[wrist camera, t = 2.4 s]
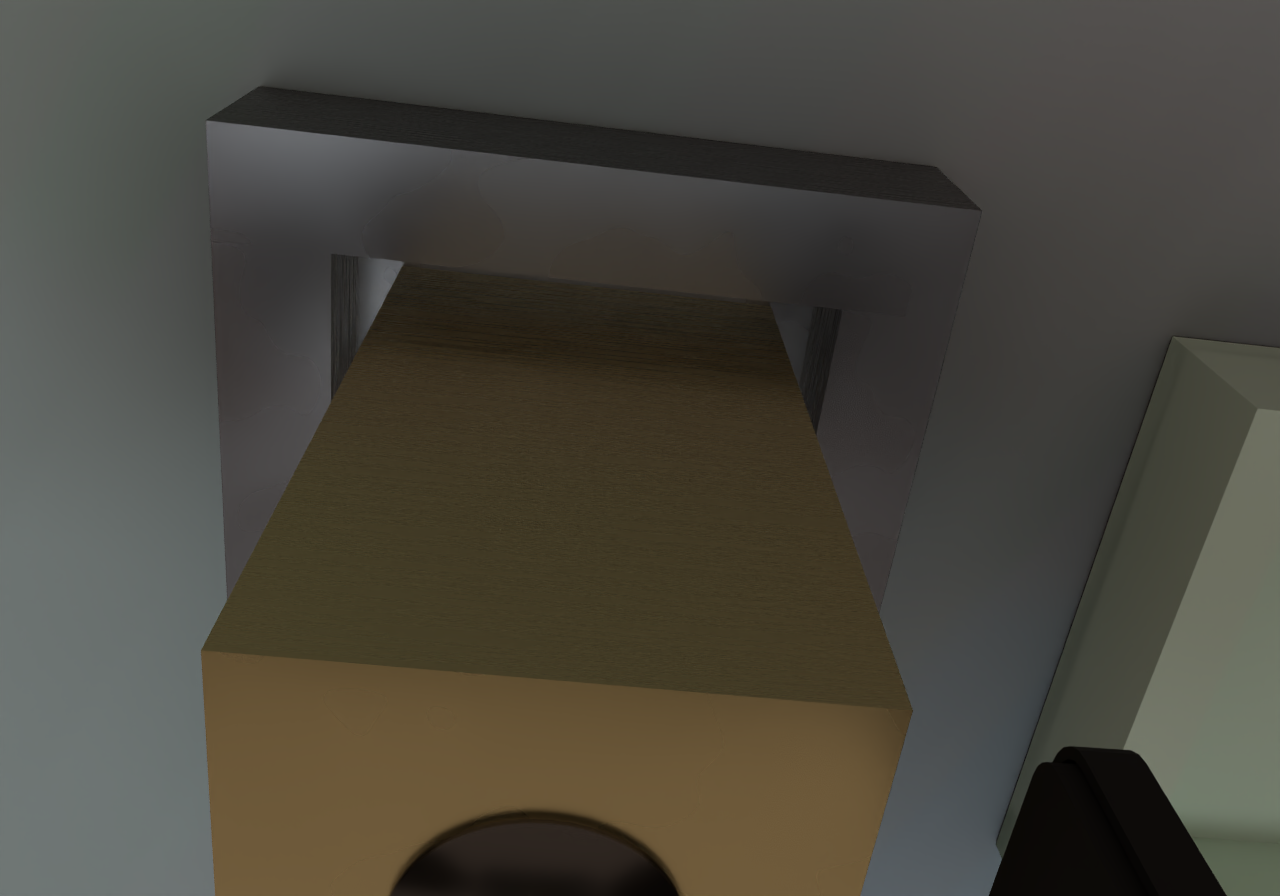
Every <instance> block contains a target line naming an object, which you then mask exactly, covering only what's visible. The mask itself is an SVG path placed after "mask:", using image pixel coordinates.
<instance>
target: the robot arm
mask: <svg viewBox="0 0 1280 896" xmlns="http://www.w3.org/2000/svg"><path fill="white" fill-rule="evenodd" d="M989 896H1227V895H1226V894H1225V892H1224V890H1223V889H1222V887H1221V885H1220V884H1219V882H1218V880H1217V879H1216V877H1215V875H1214V874H1213V872H1212V870H1211V869H1210V867H1209V866H1208V864H1207V862H1206V861H1205V859H1204V857H1203V856H1202V854H1201V852H1200V851H1199V849H1198V847H1197V846H1196V844H1195V842H1194V841H1193V839H1192V838H1191V836H1190V834H1189V833H1188V831H1187V829H1186V828H1185V826H1184V824H1183V823H1182V821H1181V819H1180V818H1179V816H1178V814H1177V813H1176V811H1175V809H1174V808H1173V806H1172V805H1171V803H1170V801H1169V800H1168V798H1167V796H1166V795H1165V793H1164V791H1163V790H1162V788H1161V786H1160V785H1159V783H1158V781H1157V780H1156V778H1155V777H1154V775H1153V773H1152V772H1151V770H1150V768H1149V767H1148V765H1147V763H1146V762H1145V761H1144V760H1143V759H1142V757H1141V756H1140V755H1139V754H1137V753H1135V752H1134V751H1132V750H1121V749H1106V748H1091V747H1076V746H1068V747H1063V748H1062V749H1061V750H1060V751H1059V752H1058V753H1057V754H1056V756H1055V758H1054V760H1053V762H1042V763H1041V764H1039V765H1038V766H1037V768H1036V770H1035V772H1034V773H1033V776H1032V779H1031V781H1030V784H1029V787H1028V790H1027V792H1026V795H1025V798H1024V801H1023V803H1022V806H1021V809H1020V812H1019V814H1018V817H1017V820H1016V823H1015V825H1014V828H1013V831H1012V834H1011V836H1010V839H1009V842H1008V845H1007V847H1006V850H1005V853H1004V856H1003V858H1002V861H1001V864H1000V867H999V869H998V872H997V875H996V877H995V880H994V883H993V886H992V888H991V891H990V894H989Z"/></svg>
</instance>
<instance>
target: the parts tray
mask: <svg viewBox="0 0 1280 896" xmlns="http://www.w3.org/2000/svg"><path fill="white" fill-rule="evenodd" d="M1068 746H1076V747H1091V748H1106V749H1121V750H1132V751H1134V752H1135V753H1137V754H1139V755H1140V756H1141V757H1142V759H1143V760H1144V761H1145V762H1146V763H1147V765H1148V767H1149V768H1150V770H1151V772H1152V773H1153V775H1154V777H1155V778H1156V780H1157V781H1158V783H1159V785H1160V786H1161V788H1162V790H1163V791H1164V793H1165V795H1166V796H1167V798H1168V800H1169V801H1170V803H1171V805H1172V806H1173V808H1174V809H1175V811H1176V813H1177V814H1178V816H1179V818H1180V819H1181V821H1182V823H1183V824H1184V826H1185V828H1186V829H1187V831H1188V833H1189V834H1190V836H1191V838H1192V839H1193V841H1194V842H1195V844H1196V846H1197V847H1198V849H1199V851H1200V852H1201V854H1202V856H1203V857H1204V859H1205V861H1206V862H1207V864H1208V866H1209V867H1210V869H1211V870H1212V872H1213V874H1214V875H1215V877H1216V879H1217V880H1218V882H1219V884H1220V885H1221V887H1222V889H1223V890H1224V892H1225V894H1226V895H1227V896H1280V348H1274V347H1265V346H1256V345H1247V344H1238V343H1229V342H1220V341H1211V340H1202V339H1192V338H1183V337H1174V336H1173V337H1172V340H1171V342H1170V345H1169V348H1168V351H1167V354H1166V357H1165V360H1164V363H1163V365H1162V368H1161V371H1160V374H1159V377H1158V380H1157V383H1156V386H1155V388H1154V391H1153V394H1152V397H1151V400H1150V403H1149V406H1148V409H1147V411H1146V414H1145V417H1144V420H1143V423H1142V426H1141V429H1140V432H1139V434H1138V437H1137V440H1136V443H1135V446H1134V449H1133V452H1132V455H1131V457H1130V460H1129V463H1128V466H1127V469H1126V472H1125V475H1124V478H1123V480H1122V483H1121V486H1120V489H1119V492H1118V495H1117V498H1116V501H1115V503H1114V506H1113V509H1112V512H1111V515H1110V518H1109V521H1108V524H1107V526H1106V529H1105V532H1104V535H1103V538H1102V541H1101V544H1100V547H1099V549H1098V552H1097V555H1096V558H1095V561H1094V564H1093V567H1092V569H1091V572H1090V575H1089V578H1088V581H1087V584H1086V587H1085V590H1084V592H1083V595H1082V598H1081V601H1080V604H1079V607H1078V610H1077V613H1076V615H1075V618H1074V621H1073V624H1072V627H1071V630H1070V633H1069V636H1068V638H1067V641H1066V644H1065V647H1064V650H1063V653H1062V656H1061V659H1060V661H1059V664H1058V667H1057V670H1056V673H1055V676H1054V679H1053V682H1052V684H1051V687H1050V690H1049V693H1048V696H1047V699H1046V702H1045V705H1044V707H1043V710H1042V713H1041V716H1040V719H1039V722H1038V725H1037V728H1036V730H1035V733H1034V736H1033V739H1032V742H1031V745H1030V748H1029V751H1028V753H1027V756H1026V759H1025V762H1024V765H1023V768H1022V771H1021V773H1020V776H1019V779H1018V782H1017V785H1016V788H1015V791H1014V794H1013V796H1012V799H1011V802H1010V805H1009V808H1008V811H1007V814H1006V817H1005V819H1004V822H1003V825H1002V828H1001V831H1000V834H999V837H998V840H997V842H996V845H997V848H998V850H999V853H1000V855H1001V858H1003V856H1004V853H1005V850H1006V847H1007V845H1008V842H1009V839H1010V836H1011V834H1012V831H1013V828H1014V825H1015V823H1016V820H1017V817H1018V814H1019V812H1020V809H1021V806H1022V803H1023V801H1024V798H1025V795H1026V792H1027V790H1028V787H1029V784H1030V781H1031V779H1032V776H1033V773H1034V772H1035V770H1036V768H1037V766H1038V765H1039V764H1041V763H1042V762H1053V760H1054V758H1055V756H1056V754H1057V753H1058V752H1059V751H1060V750H1061V749H1062V748H1063V747H1068Z"/></svg>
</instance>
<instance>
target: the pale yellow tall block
mask: <svg viewBox="0 0 1280 896" xmlns="http://www.w3.org/2000/svg"><path fill="white" fill-rule="evenodd" d="M201 658H202V675H203V692H204V710H205V727H206V744H207V761H208V778H209V795H210V813H211V830H212V847H213V864H214V881H215V896H860V894H861V891H862V887H863V884H864V880H865V877H866V873H867V870H868V866H869V863H870V859H871V856H872V852H873V849H874V845H875V842H876V838H877V835H878V831H879V828H880V824H881V821H882V817H883V814H884V810H885V807H886V803H887V800H888V796H889V793H890V789H891V785H892V782H893V778H894V775H895V771H896V768H897V764H898V761H899V757H900V754H901V750H902V747H903V743H904V740H905V736H906V733H907V729H908V726H909V722H910V719H911V715H912V712H913V710H912V707H911V704H910V701H909V698H908V695H907V693H906V690H905V687H904V684H903V681H902V678H901V675H900V673H899V670H898V667H897V664H896V661H895V658H894V656H893V653H892V650H891V647H890V644H889V641H888V639H887V636H886V633H885V630H884V627H883V624H882V621H881V619H880V616H879V613H878V610H877V607H876V604H875V602H874V599H873V596H872V593H871V590H870V587H869V584H868V582H867V579H866V576H865V573H864V570H863V567H862V565H861V562H860V559H859V556H858V553H857V550H856V548H855V545H854V542H853V539H852V536H851V533H850V530H849V528H848V525H847V522H846V519H845V516H844V513H843V511H842V508H841V505H840V502H839V499H838V496H837V494H836V491H835V488H834V485H833V482H832V479H831V476H830V474H829V471H828V468H827V465H826V462H825V459H824V457H823V454H822V451H821V448H820V445H819V442H818V439H817V437H816V434H815V431H814V428H813V425H812V422H811V420H810V417H809V414H808V411H807V408H806V405H805V403H804V400H803V397H802V394H801V391H800V388H799V385H798V383H797V380H796V377H795V374H794V371H793V368H792V366H791V363H790V360H789V357H788V354H787V351H786V349H785V346H784V343H783V340H782V337H781V334H780V331H779V329H778V326H777V323H776V320H775V317H774V314H773V312H772V309H771V306H766V305H757V304H748V303H739V302H729V301H720V300H711V299H702V298H693V297H684V296H674V295H665V294H656V293H647V292H638V291H629V290H619V289H610V288H601V287H592V286H583V285H574V284H564V283H555V282H546V281H537V280H528V279H519V278H509V277H500V276H491V275H482V274H473V273H464V272H454V271H445V270H436V269H427V268H418V267H409V266H402V268H401V270H400V271H399V273H398V275H397V277H396V279H395V281H394V283H393V285H392V287H391V289H390V291H389V292H388V294H387V296H386V298H385V300H384V302H383V304H382V306H381V308H380V310H379V312H378V313H377V315H376V317H375V319H374V321H373V323H372V325H371V327H370V329H369V331H368V333H367V334H366V336H365V338H364V340H363V342H362V344H361V346H360V348H359V350H358V352H357V354H356V355H355V357H354V359H353V361H352V363H351V365H350V367H349V369H348V371H347V373H346V375H345V376H344V378H343V380H342V382H341V384H340V386H339V388H338V390H337V392H336V394H335V396H334V397H333V399H332V401H331V403H330V405H329V407H328V409H327V411H326V413H325V415H324V417H323V418H322V420H321V422H320V424H319V426H318V428H317V430H316V432H315V434H314V436H313V438H312V440H311V441H310V443H309V445H308V447H307V449H306V451H305V453H304V455H303V457H302V459H301V461H300V462H299V464H298V466H297V468H296V470H295V472H294V474H293V476H292V478H291V480H290V482H289V483H288V485H287V487H286V489H285V491H284V493H283V495H282V497H281V499H280V501H279V503H278V504H277V506H276V508H275V510H274V512H273V514H272V516H271V518H270V520H269V522H268V524H267V525H266V527H265V529H264V531H263V533H262V535H261V537H260V539H259V541H258V543H257V545H256V546H255V548H254V550H253V552H252V554H251V556H250V558H249V560H248V562H247V564H246V566H245V567H244V569H243V571H242V573H241V575H240V577H239V579H238V581H237V583H236V585H235V587H234V588H233V590H232V592H231V594H230V596H229V598H228V600H227V602H226V604H225V606H224V608H223V609H222V611H221V613H220V615H219V617H218V619H217V621H216V623H215V625H214V627H213V629H212V630H211V632H210V634H209V636H208V638H207V640H206V642H205V644H204V646H203V648H202V650H201Z"/></svg>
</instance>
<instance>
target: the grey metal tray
mask: <svg viewBox="0 0 1280 896" xmlns="http://www.w3.org/2000/svg"><path fill="white" fill-rule="evenodd" d="M206 137H207V160H208V182H209V204H210V227H211V249H212V271H213V293H214V316H215V338H216V360H217V383H218V405H219V427H220V449H221V472H222V494H223V516H224V539H225V561H226V583H227V600H228V598H229V596H230V594H231V592H232V590H233V588H234V587H235V585H236V583H237V581H238V579H239V577H240V575H241V573H242V571H243V569H244V567H245V566H246V564H247V562H248V560H249V558H250V556H251V554H252V552H253V550H254V548H255V546H256V545H257V543H258V541H259V539H260V537H261V535H262V533H263V531H264V529H265V527H266V525H267V524H268V522H269V520H270V518H271V516H272V514H273V512H274V510H275V508H276V506H277V504H278V503H279V501H280V499H281V497H282V495H283V493H284V491H285V489H286V487H287V485H288V483H289V482H290V480H291V478H292V476H293V474H294V472H295V470H296V468H297V466H298V464H299V462H300V461H301V459H302V457H303V455H304V453H305V451H306V449H307V447H308V445H309V443H310V441H311V440H312V438H313V436H314V434H315V432H316V430H317V428H318V426H319V424H320V422H321V420H322V418H323V417H324V415H325V413H326V411H327V409H328V407H329V405H330V403H331V401H332V399H333V397H334V396H335V394H336V392H337V390H338V388H339V386H340V384H341V382H342V380H343V378H344V376H345V375H346V373H347V371H348V369H349V367H350V365H351V363H352V361H353V359H354V357H355V355H356V354H357V352H358V350H359V348H360V346H361V344H362V342H363V340H364V338H365V336H366V334H367V333H368V331H369V329H370V327H371V325H372V323H373V321H374V319H375V317H376V315H377V313H378V312H379V310H380V308H381V306H382V304H383V302H384V300H385V298H386V296H387V294H388V292H389V291H390V289H391V287H392V285H393V283H394V281H395V279H396V277H397V275H398V273H399V271H400V270H401V268H402V266H409V267H418V268H427V269H436V270H445V271H454V272H464V273H473V274H482V275H491V276H500V277H509V278H519V279H528V280H537V281H546V282H555V283H564V284H574V285H583V286H592V287H601V288H610V289H619V290H629V291H638V292H647V293H656V294H665V295H674V296H684V297H693V298H702V299H711V300H720V301H729V302H739V303H748V304H757V305H766V306H771V309H772V312H773V314H774V317H775V320H776V323H777V326H778V329H779V331H780V334H781V337H782V340H783V343H784V346H785V349H786V351H787V354H788V357H789V360H790V363H791V366H792V368H793V371H794V374H795V377H796V380H797V383H798V385H799V388H800V391H801V394H802V397H803V400H804V403H805V405H806V408H807V411H808V414H809V417H810V420H811V422H812V425H813V428H814V431H815V434H816V437H817V439H818V442H819V445H820V448H821V451H822V454H823V457H824V459H825V462H826V465H827V468H828V471H829V474H830V476H831V479H832V482H833V485H834V488H835V491H836V494H837V496H838V499H839V502H840V505H841V508H842V511H843V513H844V516H845V519H846V522H847V525H848V528H849V530H850V533H851V536H852V539H853V542H854V545H855V548H856V550H857V553H858V556H859V559H860V562H861V565H862V567H863V570H864V573H865V576H866V579H867V582H868V584H869V587H870V590H871V593H872V596H873V599H874V602H875V604H876V607H877V610H878V613H879V611H880V607H881V604H882V600H883V596H884V592H885V588H886V584H887V580H888V576H889V572H890V568H891V565H892V561H893V557H894V553H895V549H896V545H897V541H898V537H899V533H900V529H901V526H902V522H903V518H904V514H905V510H906V506H907V502H908V498H909V494H910V491H911V487H912V483H913V479H914V475H915V471H916V467H917V463H918V459H919V455H920V452H921V448H922V444H923V440H924V436H925V432H926V428H927V424H928V420H929V417H930V413H931V409H932V405H933V401H934V397H935V393H936V389H937V385H938V381H939V378H940V374H941V370H942V366H943V362H944V358H945V354H946V350H947V346H948V342H949V339H950V335H951V331H952V327H953V323H954V319H955V315H956V311H957V307H958V304H959V300H960V296H961V292H962V288H963V284H964V280H965V276H966V272H967V268H968V265H969V261H970V257H971V253H972V249H973V245H974V241H975V237H976V233H977V230H978V226H979V222H980V218H981V214H982V210H981V209H980V208H979V207H978V206H977V205H976V204H974V203H973V202H972V201H971V200H970V199H969V198H968V197H967V196H966V195H965V194H964V193H963V192H962V191H961V190H960V189H959V188H958V187H957V186H956V185H954V184H953V183H952V182H951V181H950V180H949V179H948V178H947V177H946V176H945V175H944V174H943V173H942V172H941V171H940V170H939V169H938V168H937V167H930V166H922V165H913V164H905V163H897V162H888V161H880V160H871V159H863V158H855V157H846V156H838V155H829V154H821V153H813V152H804V151H796V150H787V149H779V148H771V147H762V146H754V145H745V144H737V143H729V142H720V141H712V140H703V139H695V138H687V137H678V136H670V135H661V134H653V133H645V132H636V131H628V130H619V129H611V128H603V127H594V126H586V125H577V124H569V123H561V122H552V121H544V120H535V119H527V118H519V117H510V116H502V115H493V114H485V113H477V112H468V111H460V110H451V109H443V108H435V107H426V106H418V105H409V104H401V103H393V102H384V101H376V100H367V99H359V98H351V97H342V96H334V95H325V94H317V93H309V92H300V91H292V90H283V89H275V88H267V87H258V88H256V89H254V90H253V91H251V92H250V93H248V94H247V95H245V96H243V97H242V98H240V99H239V100H237V101H235V102H234V103H232V104H231V105H229V106H228V107H226V108H224V109H223V110H221V111H220V112H218V113H217V114H215V115H213V116H212V117H210V118H209V119H207V120H206Z"/></svg>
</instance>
